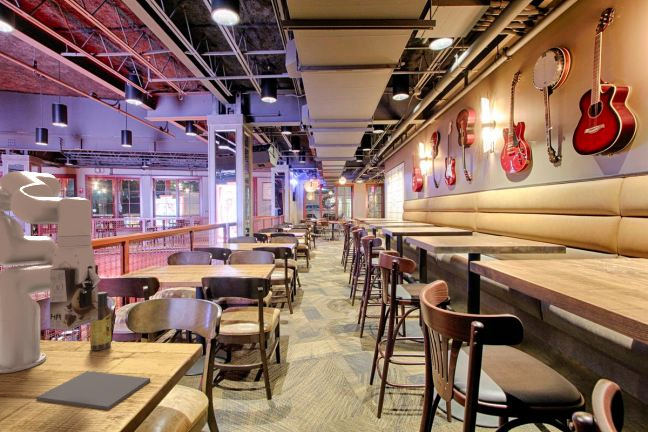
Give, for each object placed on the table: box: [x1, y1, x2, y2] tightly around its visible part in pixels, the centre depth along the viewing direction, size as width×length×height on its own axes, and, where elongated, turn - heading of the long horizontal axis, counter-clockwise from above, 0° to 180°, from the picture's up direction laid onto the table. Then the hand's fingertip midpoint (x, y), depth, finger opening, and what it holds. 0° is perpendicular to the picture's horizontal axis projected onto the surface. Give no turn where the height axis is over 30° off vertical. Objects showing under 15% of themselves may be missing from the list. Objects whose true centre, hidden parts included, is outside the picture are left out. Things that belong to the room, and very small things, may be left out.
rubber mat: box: [36, 370, 151, 411], centre depth 87 cm, size 22×14×1 cm, turn 78°
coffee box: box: [49, 264, 99, 331], centre depth 89 cm, size 9×6×16 cm
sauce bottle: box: [89, 291, 112, 351], centre depth 115 cm, size 6×6×20 cm
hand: (74, 305), depth 89 cm, fingers closed on coffee box, 6 cm apart
